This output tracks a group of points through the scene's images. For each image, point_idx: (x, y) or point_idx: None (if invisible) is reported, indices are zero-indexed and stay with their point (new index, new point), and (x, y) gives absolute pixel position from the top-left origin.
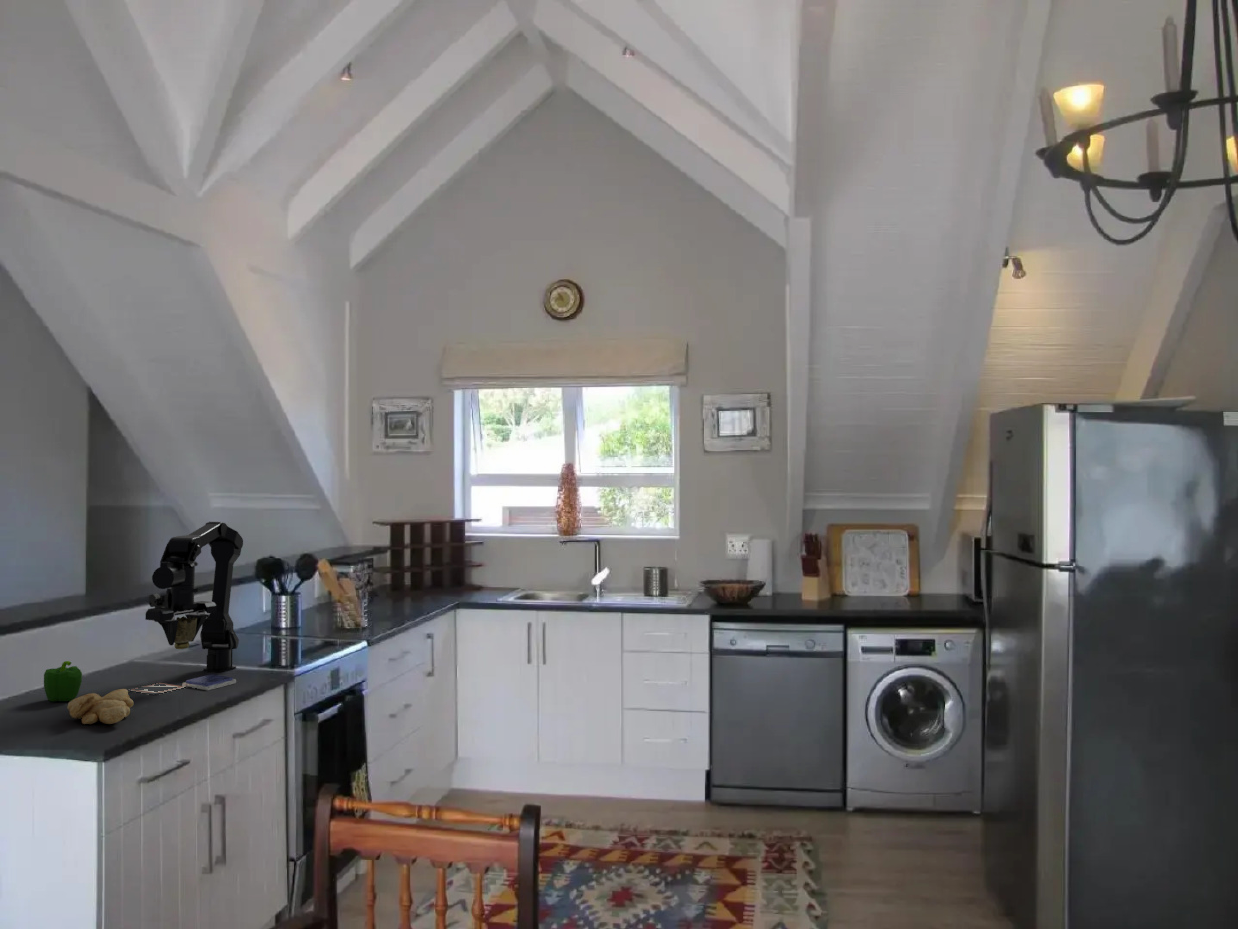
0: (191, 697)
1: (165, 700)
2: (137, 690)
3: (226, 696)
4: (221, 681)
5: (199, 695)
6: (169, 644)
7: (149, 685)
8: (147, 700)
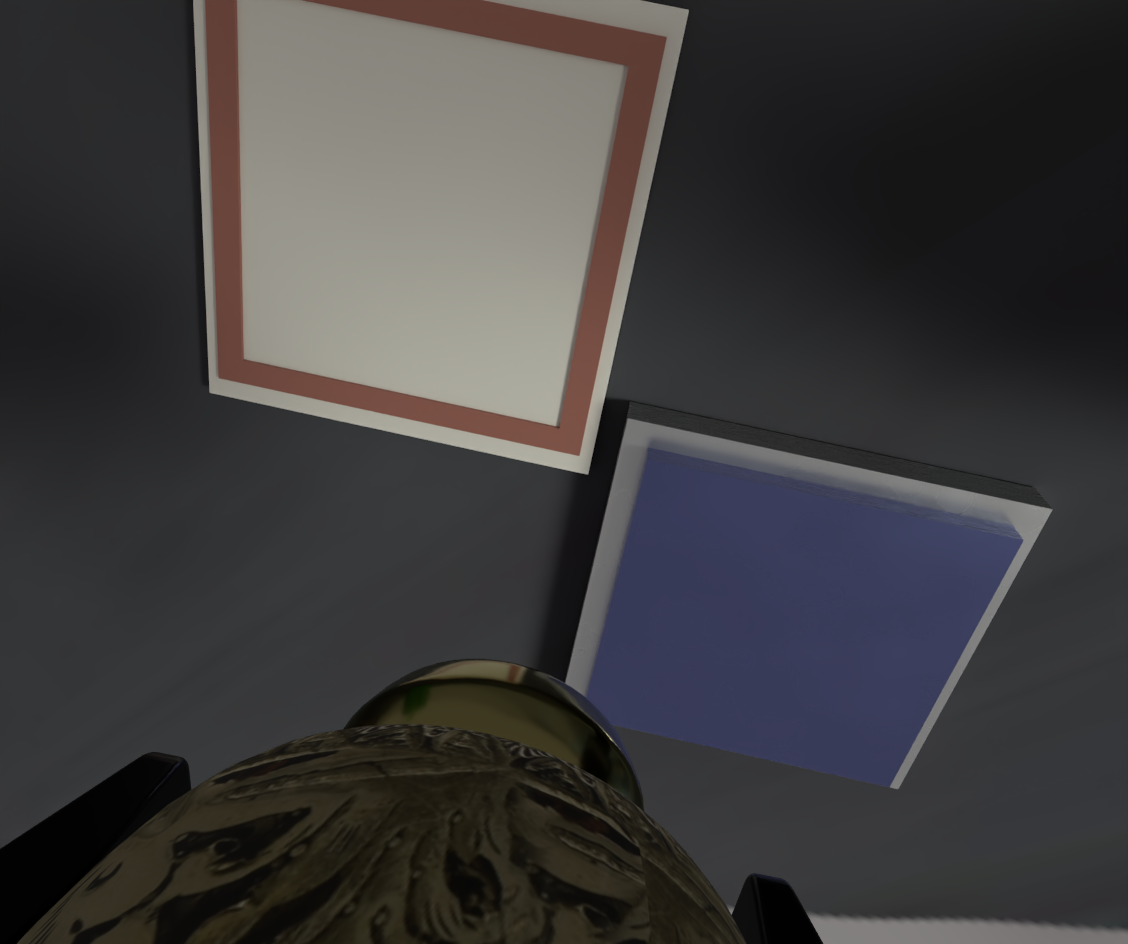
0: (326, 686)
1: (155, 568)
2: (216, 86)
3: None
4: (746, 745)
5: None
6: (138, 769)
7: (477, 27)
8: (69, 435)
